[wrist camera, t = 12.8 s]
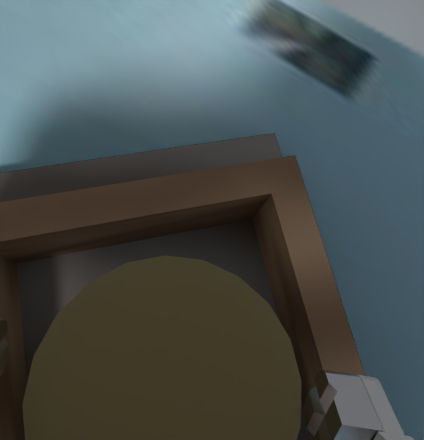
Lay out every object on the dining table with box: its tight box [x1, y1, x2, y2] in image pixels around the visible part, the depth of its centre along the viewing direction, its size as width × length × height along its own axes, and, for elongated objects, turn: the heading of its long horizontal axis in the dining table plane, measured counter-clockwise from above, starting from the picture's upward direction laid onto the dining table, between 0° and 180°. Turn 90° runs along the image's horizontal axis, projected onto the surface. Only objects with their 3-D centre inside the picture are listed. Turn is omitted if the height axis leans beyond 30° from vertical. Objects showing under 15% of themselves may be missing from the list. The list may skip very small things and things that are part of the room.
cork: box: [22, 255, 302, 440], centre depth 11 cm, size 6×6×11 cm
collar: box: [0, 133, 365, 440], centre depth 15 cm, size 20×16×4 cm
